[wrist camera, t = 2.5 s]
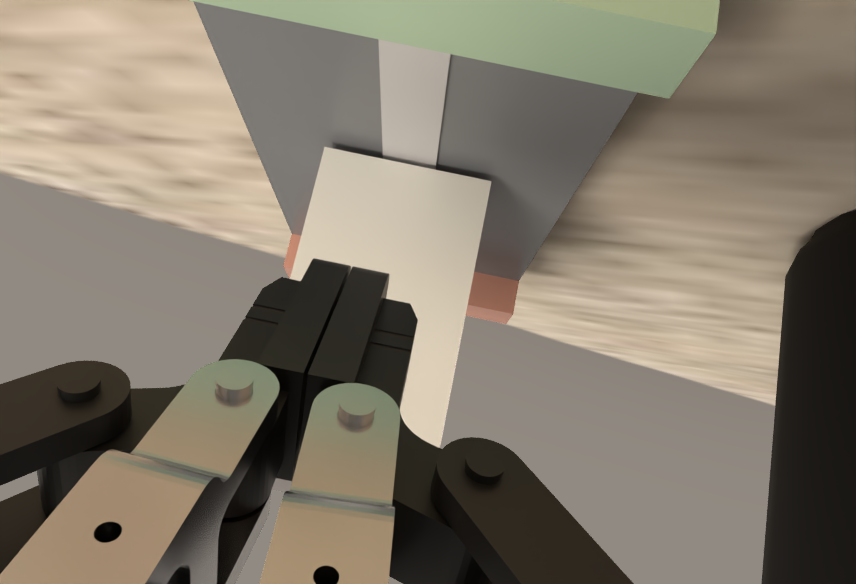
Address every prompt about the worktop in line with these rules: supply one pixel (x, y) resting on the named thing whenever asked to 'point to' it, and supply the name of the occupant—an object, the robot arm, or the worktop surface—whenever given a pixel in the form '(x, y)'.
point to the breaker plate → (452, 97)
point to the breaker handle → (403, 259)
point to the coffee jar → (816, 417)
